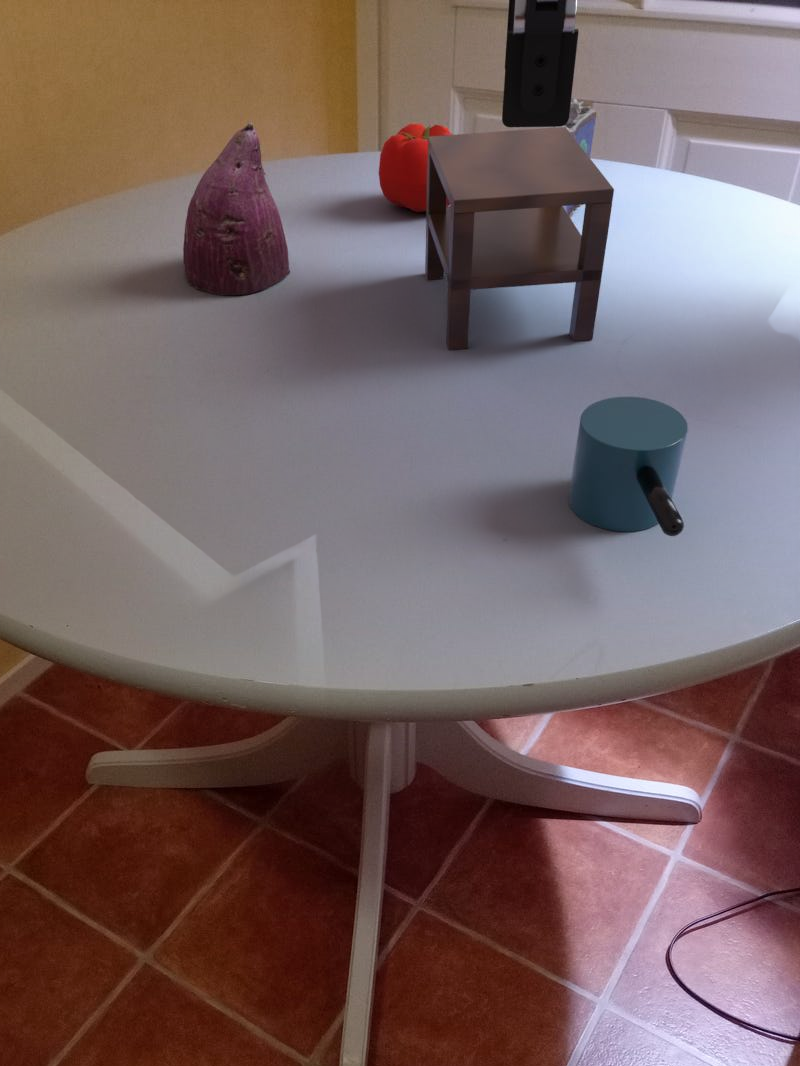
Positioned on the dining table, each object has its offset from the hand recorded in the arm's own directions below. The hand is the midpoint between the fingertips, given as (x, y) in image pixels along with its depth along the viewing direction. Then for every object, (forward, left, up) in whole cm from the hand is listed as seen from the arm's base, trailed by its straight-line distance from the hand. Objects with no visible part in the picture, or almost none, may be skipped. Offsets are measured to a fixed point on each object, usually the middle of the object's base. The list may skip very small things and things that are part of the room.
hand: (533, 97), depth 51 cm
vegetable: (+19, -38, -24) cm, 48 cm away
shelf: (-5, -27, -23) cm, 36 cm away
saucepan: (-7, +7, -23) cm, 25 cm away
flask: (-15, -48, -24) cm, 55 cm away
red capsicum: (-1, -53, -24) cm, 58 cm away
